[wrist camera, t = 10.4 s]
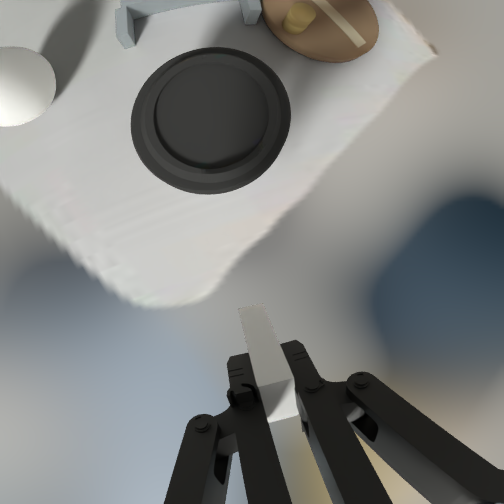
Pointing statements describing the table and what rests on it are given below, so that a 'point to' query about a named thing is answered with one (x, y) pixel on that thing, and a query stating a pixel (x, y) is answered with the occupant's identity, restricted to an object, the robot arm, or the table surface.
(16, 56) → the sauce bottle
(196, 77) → the coffee cup
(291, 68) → the table surface
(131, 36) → the pocket stop
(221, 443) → the robot arm
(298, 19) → the disc
